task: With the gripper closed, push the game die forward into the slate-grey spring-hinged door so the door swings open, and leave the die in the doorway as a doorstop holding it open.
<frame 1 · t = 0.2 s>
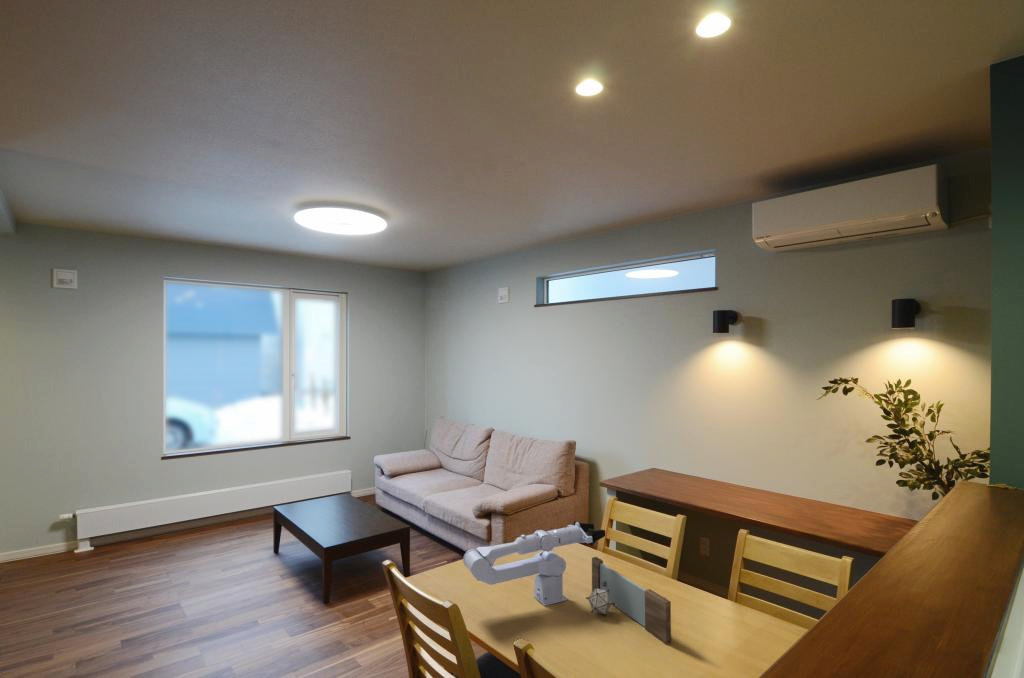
hand: (599, 529, 187), 21 cm above the table, tool horizontal, fingers open, 7 cm apart
wall frame: (646, 628, 159), on the table
game die: (600, 613, 168), on the table
door: (621, 593, 170), point 6 cm above the table, hinge at 0.0°
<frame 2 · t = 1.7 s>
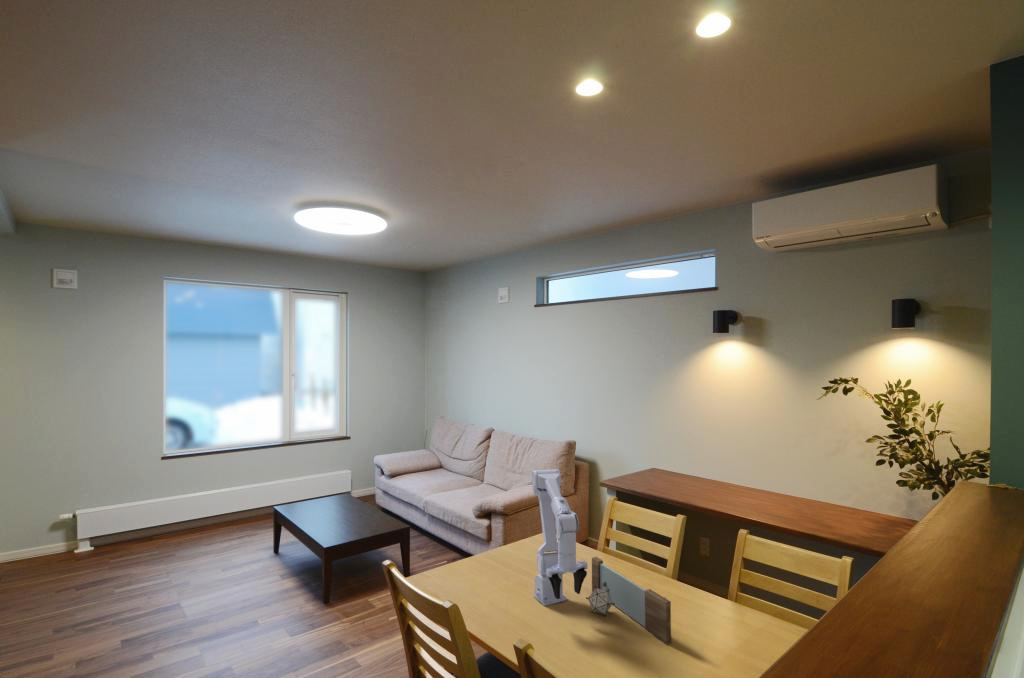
hand: (567, 595, 163), 8 cm above the table, tool pointing down, fingers open, 7 cm apart
nothing on the table moved.
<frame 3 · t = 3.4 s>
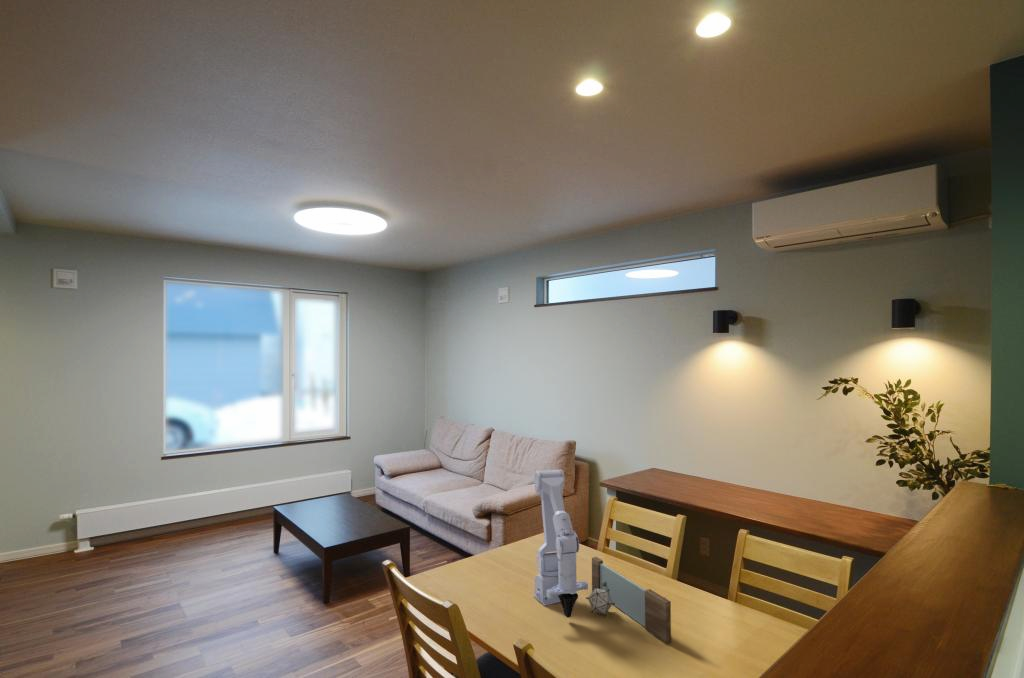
hand: (567, 615, 163), 2 cm above the table, tool pointing down, fingers closed
nothing on the table moved.
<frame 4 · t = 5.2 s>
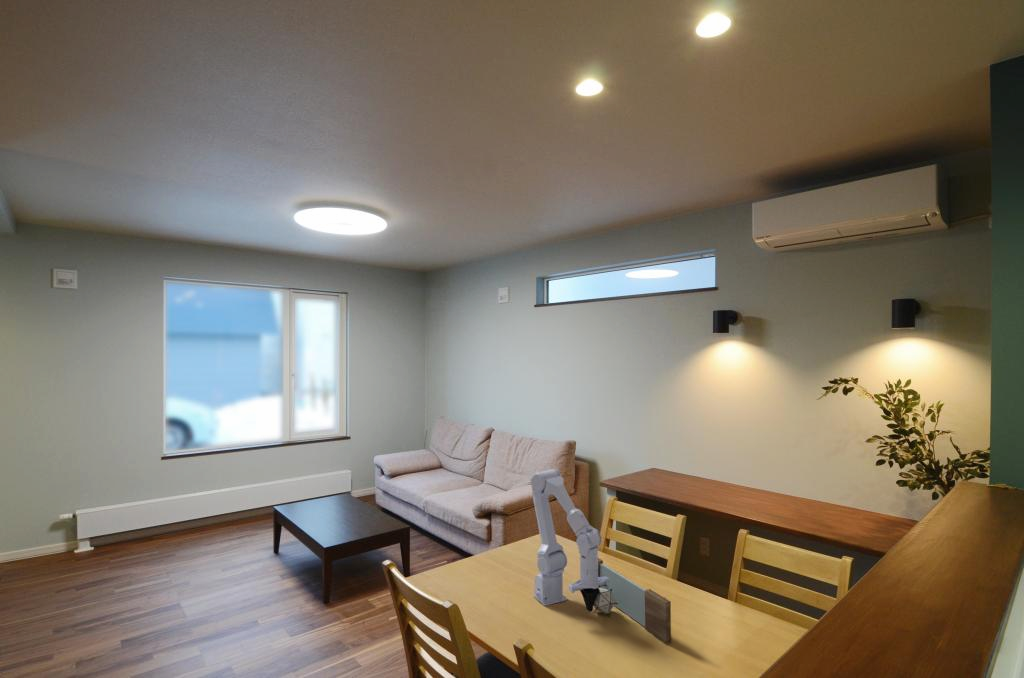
hand: (589, 610, 167), 2 cm above the table, tool pointing down, fingers closed
game die: (603, 613, 169), on the table, touching gripper
everything else where it was.
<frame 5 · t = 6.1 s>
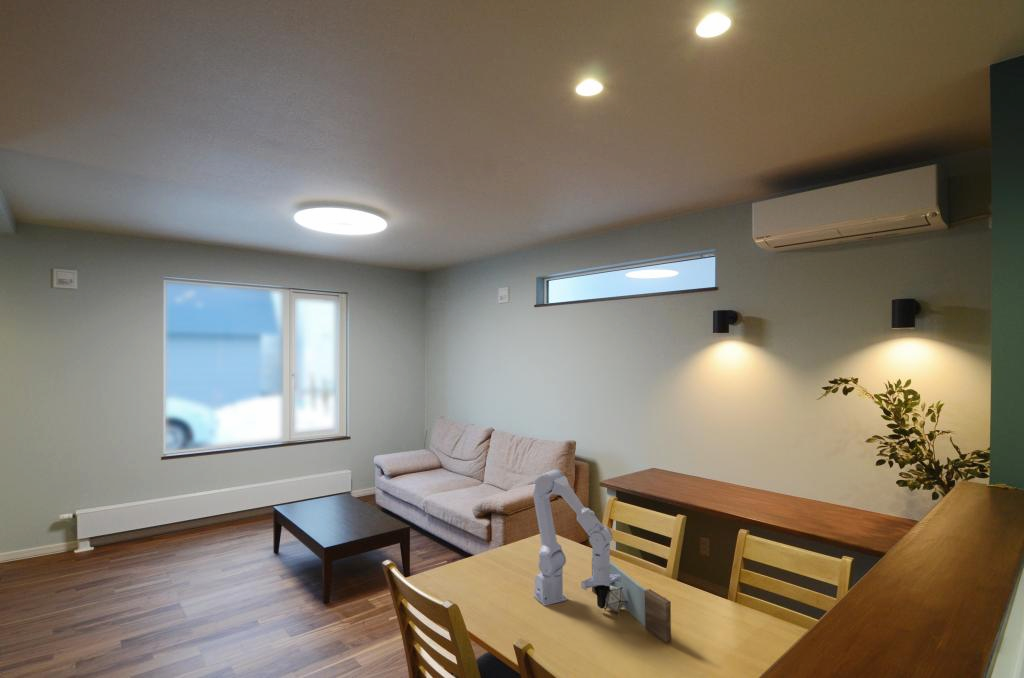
hand: (601, 606, 169), 2 cm above the table, tool pointing down, fingers closed, pressing on game die
game die: (613, 611, 170), on the table, touching door, gripper
door: (626, 592, 171), point 6 cm above the table, hinge at 9.0°, touching game die
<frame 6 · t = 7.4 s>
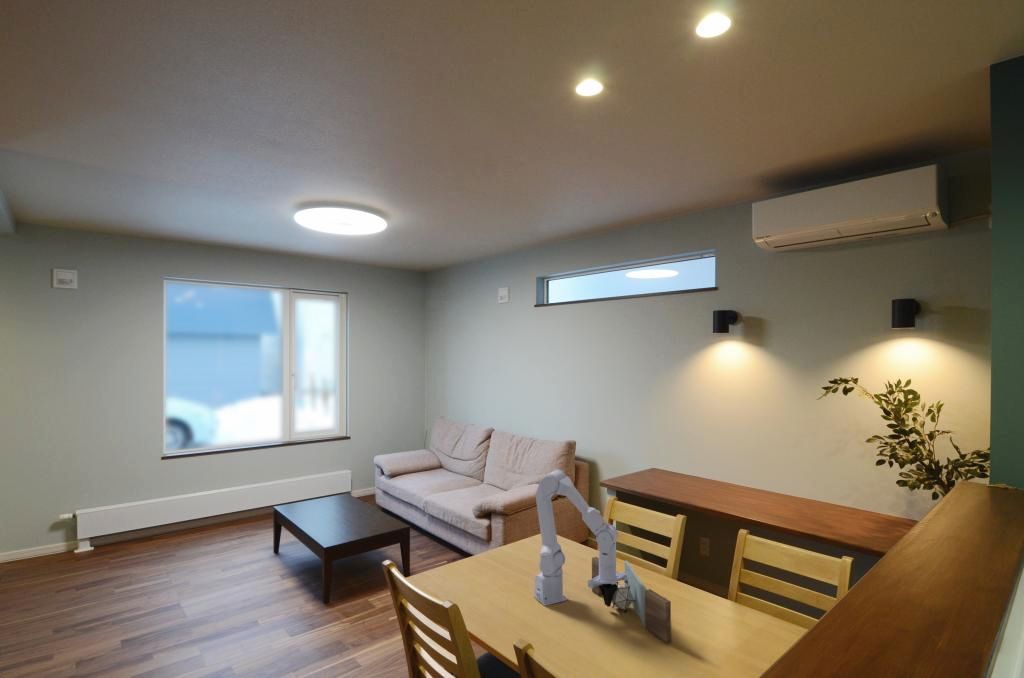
hand: (607, 605, 170), 2 cm above the table, tool pointing down, fingers closed
game die: (621, 609, 171), on the table, touching door, gripper
door: (634, 591, 171), point 6 cm above the table, hinge at 23.4°, touching game die
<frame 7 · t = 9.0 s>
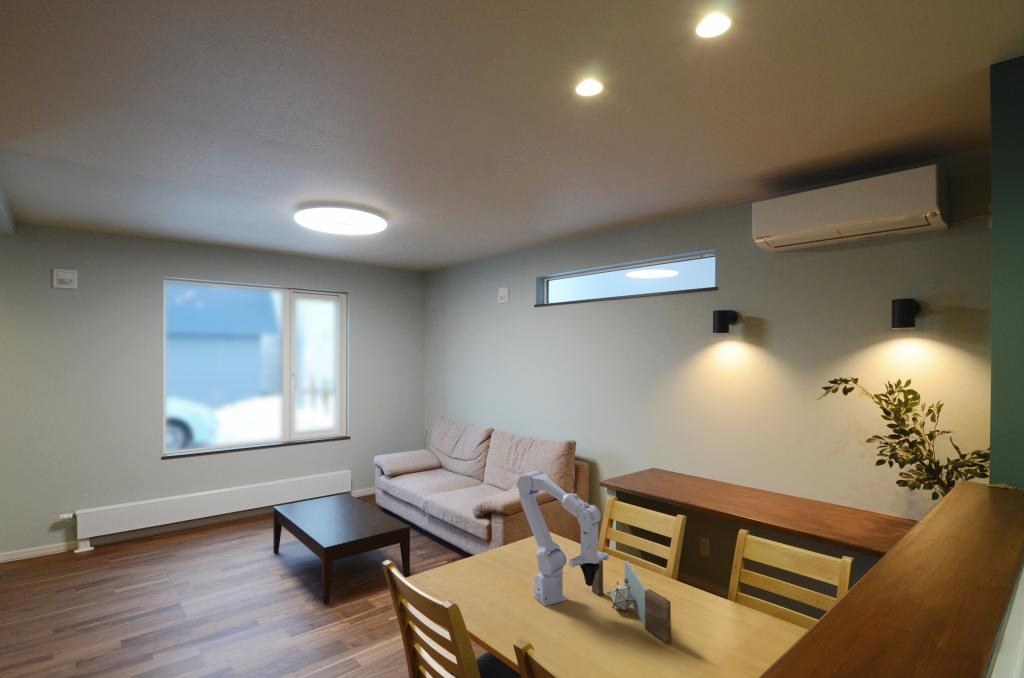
hand: (589, 584, 170), 9 cm above the table, tool pointing down, fingers closed
game die: (621, 609, 171), on the table
door: (634, 591, 171), point 6 cm above the table, hinge at 23.5°
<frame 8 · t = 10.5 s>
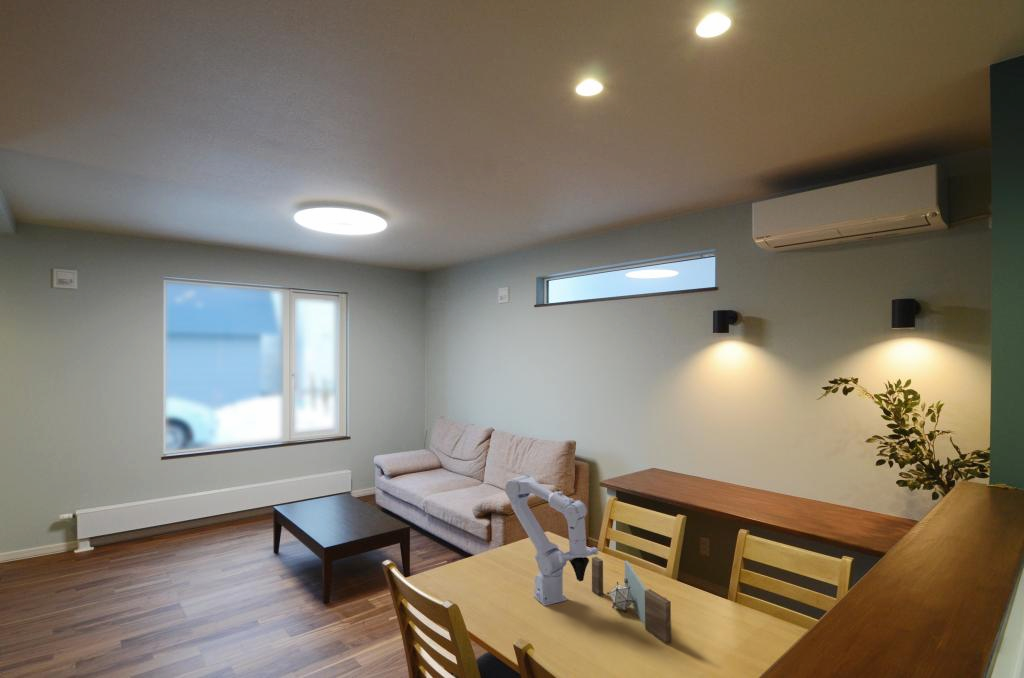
hand: (580, 580, 172), 9 cm above the table, tool pointing down, fingers closed
nothing on the table moved.
at the end: door at +24° (first picture: +0°); game die inside the target area (2.3 cm from its centre), on the table; game die tilted 0° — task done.
